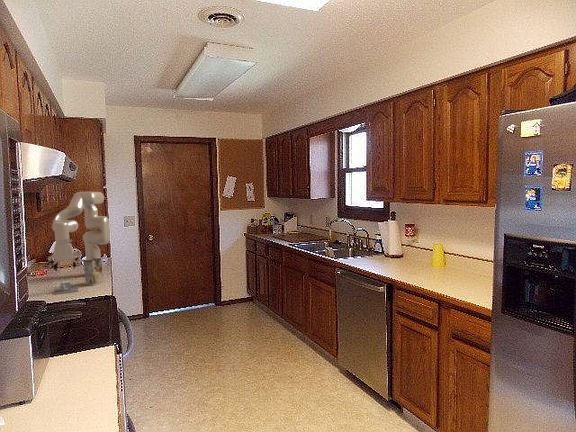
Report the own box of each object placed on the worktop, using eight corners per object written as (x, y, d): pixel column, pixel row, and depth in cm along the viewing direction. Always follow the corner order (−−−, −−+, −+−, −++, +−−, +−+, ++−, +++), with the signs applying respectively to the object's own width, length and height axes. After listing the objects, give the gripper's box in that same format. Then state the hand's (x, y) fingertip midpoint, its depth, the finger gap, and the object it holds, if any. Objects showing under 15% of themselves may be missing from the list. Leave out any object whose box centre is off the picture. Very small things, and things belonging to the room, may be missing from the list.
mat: (54, 289, 242) (54, 289, 242) (78, 286, 248) (78, 286, 248) (53, 294, 231) (53, 294, 231) (78, 291, 237) (78, 291, 237)
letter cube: (61, 289, 240) (61, 281, 240) (70, 288, 243) (70, 280, 242) (61, 291, 236) (60, 283, 235) (70, 290, 238) (70, 282, 238)
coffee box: (94, 281, 261) (93, 258, 259) (103, 281, 259) (101, 258, 258) (85, 285, 252) (83, 260, 250) (93, 285, 251) (92, 261, 249)
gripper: (78, 239, 244) (81, 266, 246) (46, 242, 236) (49, 270, 238) (78, 241, 238) (81, 268, 240) (45, 244, 229) (48, 272, 232)
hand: (65, 269), depth 239 cm, fingers open, 9 cm apart
